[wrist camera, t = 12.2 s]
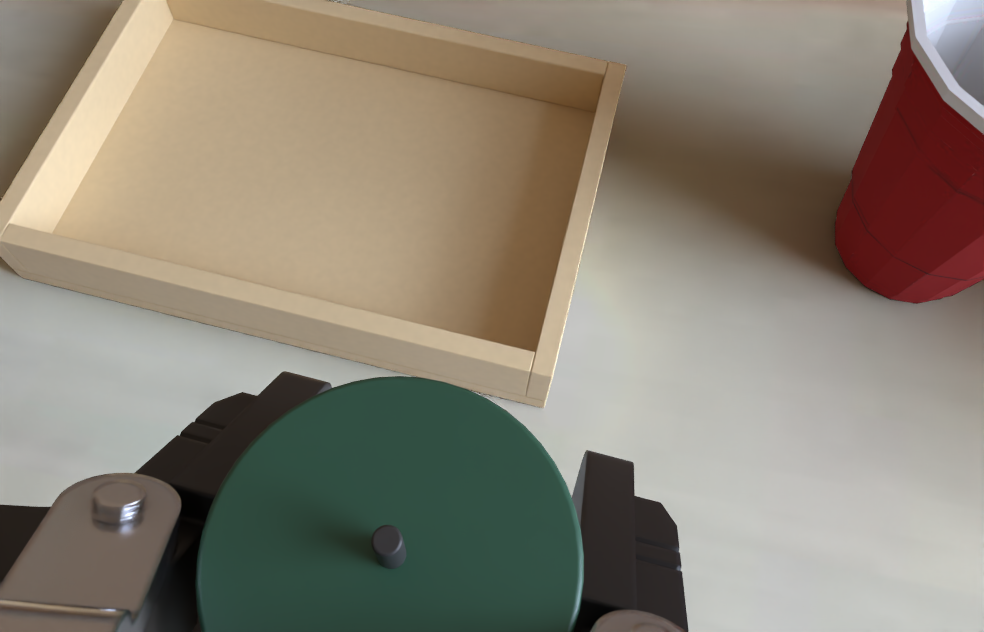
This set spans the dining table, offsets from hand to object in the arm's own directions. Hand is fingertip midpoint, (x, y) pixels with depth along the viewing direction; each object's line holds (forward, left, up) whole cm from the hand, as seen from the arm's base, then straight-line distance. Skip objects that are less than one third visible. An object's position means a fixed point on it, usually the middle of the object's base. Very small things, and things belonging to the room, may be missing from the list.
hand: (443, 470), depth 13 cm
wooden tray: (-9, +15, -18) cm, 25 cm away
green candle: (0, -2, -4) cm, 5 cm away
